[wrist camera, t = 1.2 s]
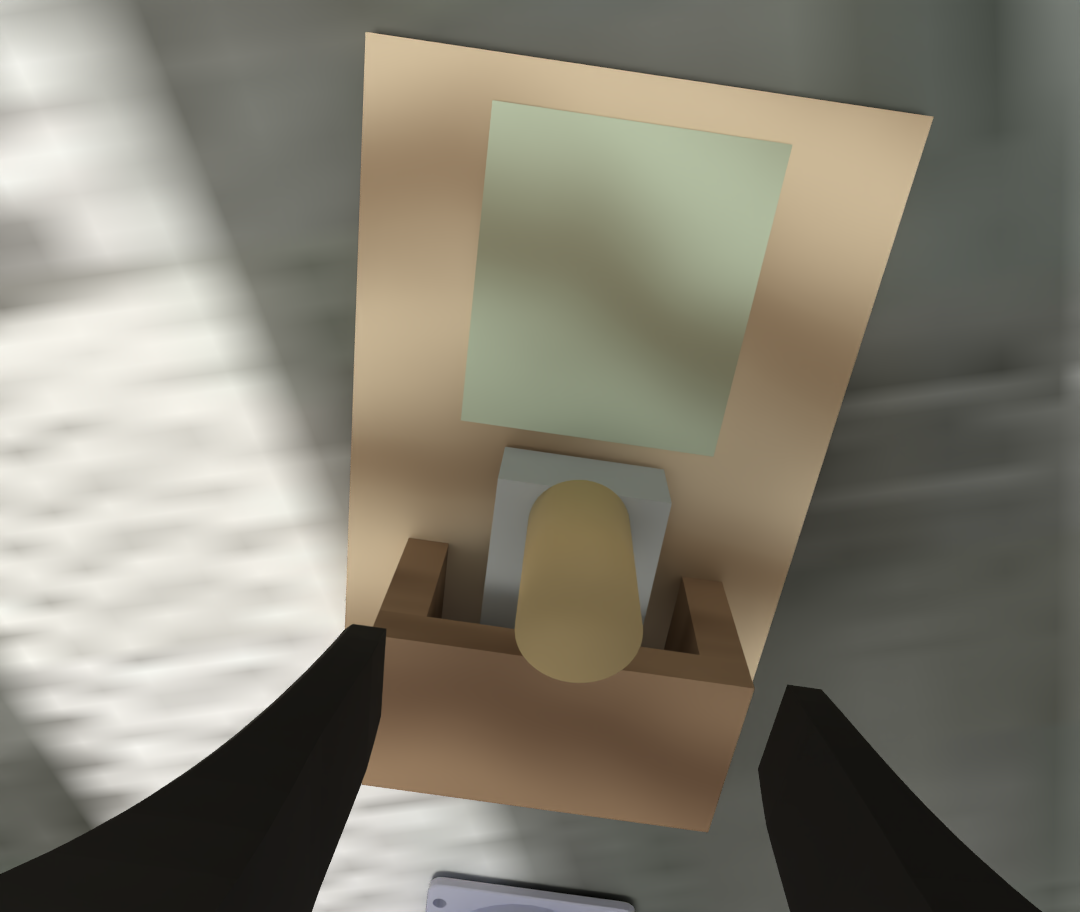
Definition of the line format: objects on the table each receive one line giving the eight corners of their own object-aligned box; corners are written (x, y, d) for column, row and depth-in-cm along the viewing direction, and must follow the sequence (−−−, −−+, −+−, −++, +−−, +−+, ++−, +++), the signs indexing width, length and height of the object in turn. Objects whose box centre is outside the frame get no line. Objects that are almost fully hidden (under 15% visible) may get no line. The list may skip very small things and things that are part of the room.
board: (703, 811, 27) (706, 828, 27) (344, 761, 27) (338, 777, 26) (922, 117, 18) (935, 116, 17) (372, 34, 18) (364, 31, 17)
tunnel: (686, 710, 25) (707, 832, 20) (398, 670, 25) (362, 784, 20) (722, 581, 23) (754, 688, 18) (409, 537, 22) (369, 634, 18)
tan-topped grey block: (613, 694, 24) (623, 878, 18) (476, 674, 24) (443, 853, 18) (666, 459, 21) (700, 594, 15) (506, 436, 21) (477, 562, 15)
